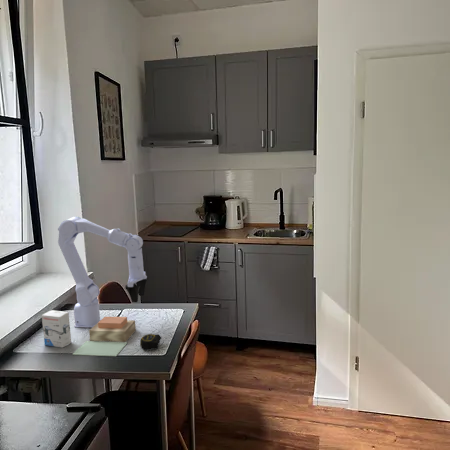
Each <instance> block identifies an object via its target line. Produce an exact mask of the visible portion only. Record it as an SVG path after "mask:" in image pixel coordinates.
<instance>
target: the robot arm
mask: <svg viewBox="0 0 450 450" xmlns="http://www.w3.org/2000/svg"><path fill="white" fill-rule="evenodd" d="M57 231H58V238H57V239H58V240H57V243H58V246H59V248H60V251H61V253H62V255H63V257H64V260H65V262H66V265H67V267H68V269H69V271H70V274H71V275H72V278H73V279H74V282H75V293H76V300H77V301H76V302H77V303H75V305H74V308H73V318H74V324H75V325H74V328H93V327H94V326H95V325H96V324H97V323H98V322H99V321H100V320H102V319H103V318H101V314H100V304H99V299H98V297H99V295H100V291H101V289H100V288H99V286H98V285H97V284H96V283H95V282H94V280H93V279H92V278H90V277H89V275H88V272H87V270H86V268H85V266H84V263H83V261H82V258H81V257H80V254H79V251H78V250H77V248H76V245H75V243H74V242H75V240H76V239H77V236H78V235H79V234H83V233H86V232H88V233H91V234H94V235H97V236H100V237H103V238H106V239H107V241H108V243H111V244H114V245H116V246H119V247H122V248H125V249H126V251H127V262H128V265H127V266H128V281H127V284H125V287H124V289H125V290H126V291H127V293H128V295H129V296H130V301H131V302H132V303H138V302H139V296H145V294H146V288H147V283H148V281H149V277H148V276H147V273H146V271H144V259H143V258H144V257H143V255H144V254H143V248H142V247H143V244H144V240H143V238H142V237H141V236H139V235H138V234H133V233H131V232H129V233H128V232H125V231H123V230H121V228H118V227H117V228H113V229H108V228H106V227H104V226H102V225H100V224H97V223H96V222H95V223H94V222H93V221H90V220H88V219H86V218H84V217H82V218H81V217H80V216H77V215H76V216H72V217H70V218H68V219H65V220H64V219H63V221H62V222H61V223H60V224H59V226H58V228H57Z"/></svg>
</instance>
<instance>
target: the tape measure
mask: <svg viewBox="0 0 450 450" xmlns="http://www.w3.org/2000/svg"><path fill="white" fill-rule="evenodd" d="M161 340H162V336H161V335H160V334H153V333H150V334H144V335H143V336H141V338H140V340H139V341H140V342H139V343H140V347H141V349H143V350H145V351H149V350H156V349H158V348H159V344H160V342H161Z"/></svg>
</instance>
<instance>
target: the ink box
mask: <svg viewBox="0 0 450 450" xmlns="http://www.w3.org/2000/svg"><path fill="white" fill-rule="evenodd" d="M41 322H42V323H41V325H42V331H43V343H44V345H45V346H50V347H56V348H64V347H67V346H68V345H70V344H71V343H72V337H71V336H72V333H71V323H70V315H69V312H68V311H61V310H53V309H52V310H48V311H47V312H45V313H43V314H41Z"/></svg>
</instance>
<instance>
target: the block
mask: <svg viewBox="0 0 450 450" xmlns="http://www.w3.org/2000/svg"><path fill="white" fill-rule="evenodd" d="M101 319H102V320H101V321H99V322H98V328H122V327H123V326H124V325H125V324H126V323H127V320H128V316H104V317H103V318H101Z"/></svg>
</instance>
